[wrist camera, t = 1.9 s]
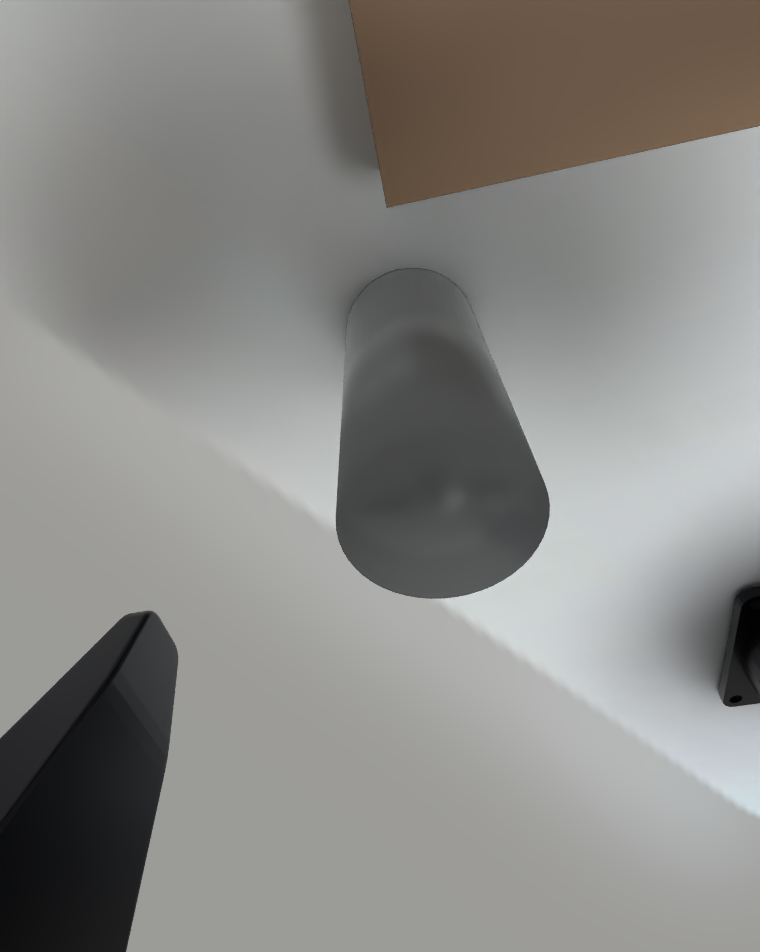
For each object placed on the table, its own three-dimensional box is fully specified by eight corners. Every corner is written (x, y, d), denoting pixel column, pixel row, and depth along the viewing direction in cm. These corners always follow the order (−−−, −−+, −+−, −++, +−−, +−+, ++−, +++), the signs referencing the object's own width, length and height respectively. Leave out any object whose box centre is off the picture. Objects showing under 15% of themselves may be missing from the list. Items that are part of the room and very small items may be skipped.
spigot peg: (480, 377, 17) (553, 581, 11) (361, 400, 18) (361, 611, 11) (466, 255, 15) (544, 411, 9) (332, 283, 16) (311, 454, 9)
